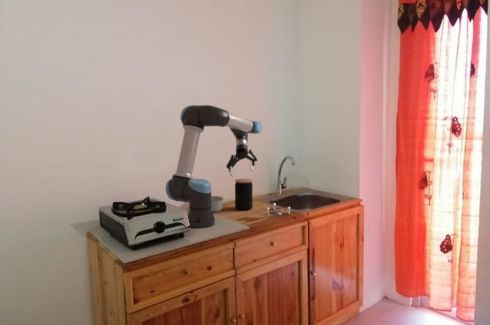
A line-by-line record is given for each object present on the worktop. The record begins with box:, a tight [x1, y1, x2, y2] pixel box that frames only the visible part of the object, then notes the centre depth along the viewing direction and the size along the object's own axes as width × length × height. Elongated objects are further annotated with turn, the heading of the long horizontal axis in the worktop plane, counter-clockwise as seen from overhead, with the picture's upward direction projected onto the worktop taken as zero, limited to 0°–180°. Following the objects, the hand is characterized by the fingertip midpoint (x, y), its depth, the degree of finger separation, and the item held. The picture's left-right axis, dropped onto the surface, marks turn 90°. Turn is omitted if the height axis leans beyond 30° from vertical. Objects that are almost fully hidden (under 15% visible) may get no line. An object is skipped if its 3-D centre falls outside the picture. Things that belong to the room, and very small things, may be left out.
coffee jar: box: [234, 178, 254, 212], centre depth 232 cm, size 11×11×18 cm
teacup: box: [211, 195, 224, 213], centre depth 228 cm, size 14×11×8 cm
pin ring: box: [265, 202, 291, 216], centre depth 222 cm, size 12×14×4 cm
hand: (241, 172), depth 231 cm, fingers open, 13 cm apart
